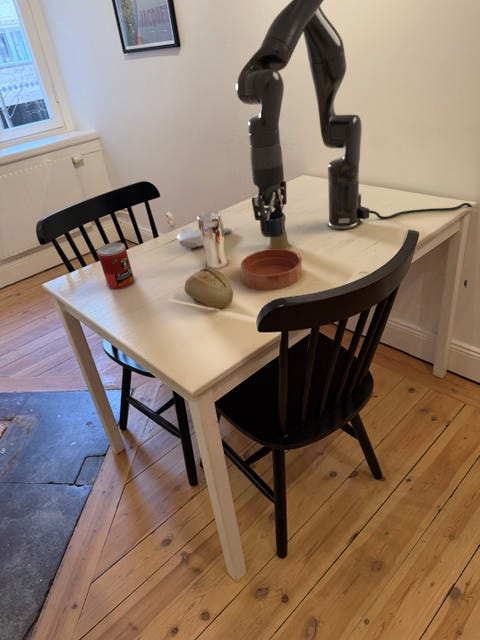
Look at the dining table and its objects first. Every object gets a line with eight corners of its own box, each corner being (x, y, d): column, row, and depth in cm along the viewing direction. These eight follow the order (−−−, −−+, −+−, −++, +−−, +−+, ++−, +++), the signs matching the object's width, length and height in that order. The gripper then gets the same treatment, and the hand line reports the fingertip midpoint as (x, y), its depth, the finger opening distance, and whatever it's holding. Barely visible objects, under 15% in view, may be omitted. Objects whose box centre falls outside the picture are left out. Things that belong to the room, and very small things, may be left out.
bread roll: (204, 285, 128) (199, 258, 123) (244, 299, 118) (240, 271, 114) (178, 300, 122) (171, 273, 118) (217, 317, 113) (212, 288, 108)
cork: (287, 251, 140) (285, 216, 134) (268, 251, 141) (264, 217, 135) (290, 242, 144) (287, 208, 139) (270, 243, 146) (267, 209, 140)
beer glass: (232, 259, 139) (225, 211, 131) (223, 270, 134) (216, 220, 126) (210, 258, 142) (202, 211, 134) (201, 269, 136) (193, 220, 128)
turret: (236, 239, 158) (235, 225, 156) (191, 252, 145) (190, 237, 143) (215, 233, 164) (215, 220, 162) (170, 246, 151) (169, 232, 149)
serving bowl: (280, 258, 136) (279, 243, 134) (314, 277, 123) (314, 262, 121) (232, 275, 130) (230, 261, 128) (263, 298, 118) (261, 282, 115)
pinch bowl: (268, 227, 124) (266, 210, 122) (289, 229, 121) (288, 212, 119) (257, 236, 120) (255, 219, 118) (278, 238, 117) (277, 221, 115)
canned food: (121, 291, 131) (111, 255, 125) (102, 286, 135) (90, 251, 129) (140, 278, 136) (130, 244, 130) (120, 274, 140) (110, 240, 134)
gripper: (266, 172, 104) (273, 241, 113) (294, 154, 114) (298, 219, 123) (238, 171, 108) (246, 238, 117) (267, 154, 118) (273, 217, 127)
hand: (273, 228), depth 120 cm, fingers closed on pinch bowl, 6 cm apart
